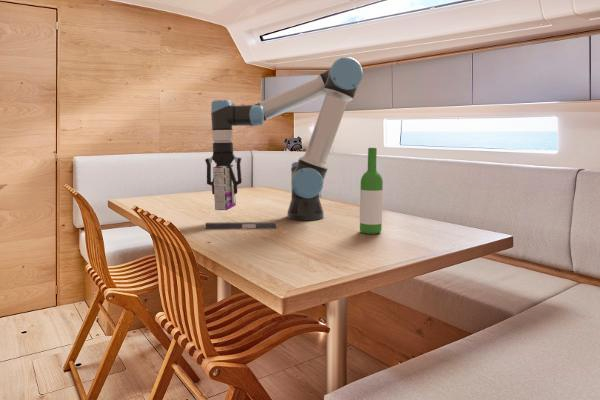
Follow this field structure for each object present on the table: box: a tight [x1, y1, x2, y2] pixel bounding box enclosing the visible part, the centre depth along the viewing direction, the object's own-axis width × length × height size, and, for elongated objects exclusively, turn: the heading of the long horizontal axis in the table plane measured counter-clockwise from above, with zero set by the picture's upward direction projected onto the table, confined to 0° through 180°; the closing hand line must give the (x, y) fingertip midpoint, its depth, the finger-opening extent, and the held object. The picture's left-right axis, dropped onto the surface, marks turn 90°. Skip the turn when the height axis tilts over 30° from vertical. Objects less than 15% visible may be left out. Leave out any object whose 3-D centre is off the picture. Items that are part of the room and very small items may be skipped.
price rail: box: [205, 221, 277, 230], centre depth 173 cm, size 26×2×2 cm, turn 92°
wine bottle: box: [359, 147, 384, 235], centre depth 164 cm, size 8×8×30 cm
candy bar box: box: [212, 163, 237, 211], centre depth 178 cm, size 11×5×16 cm, turn 169°
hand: (225, 202), depth 179 cm, fingers closed on candy bar box, 6 cm apart
